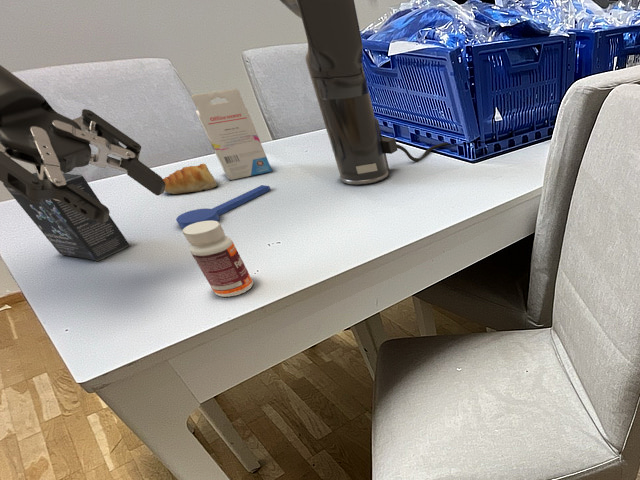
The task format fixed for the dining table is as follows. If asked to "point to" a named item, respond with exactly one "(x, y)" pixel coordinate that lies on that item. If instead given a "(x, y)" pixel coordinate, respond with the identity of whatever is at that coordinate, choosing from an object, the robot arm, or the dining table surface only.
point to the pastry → (189, 180)
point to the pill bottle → (218, 258)
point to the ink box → (231, 134)
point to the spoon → (218, 208)
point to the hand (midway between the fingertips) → (136, 202)
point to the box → (73, 225)
